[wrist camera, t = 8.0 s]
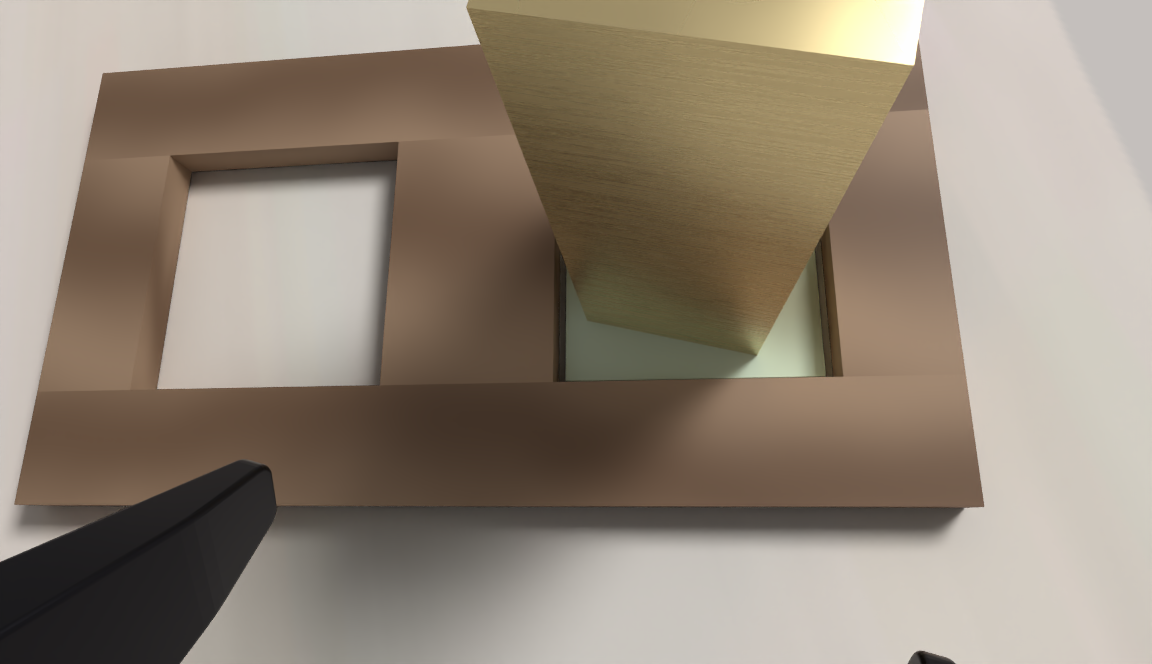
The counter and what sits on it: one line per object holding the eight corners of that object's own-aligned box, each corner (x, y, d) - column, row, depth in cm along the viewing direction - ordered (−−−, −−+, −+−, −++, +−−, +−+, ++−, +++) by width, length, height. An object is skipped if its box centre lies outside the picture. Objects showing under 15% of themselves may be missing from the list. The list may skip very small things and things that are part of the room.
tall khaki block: (756, 355, 18) (913, 65, 7) (587, 320, 19) (465, 8, 7) (787, 197, 19) (968, -292, 8) (624, 170, 20) (569, -309, 8)
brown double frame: (966, 507, 17) (984, 506, 16) (46, 505, 20) (14, 504, 19) (902, 35, 20) (914, 11, 19) (126, 92, 23) (102, 73, 22)
